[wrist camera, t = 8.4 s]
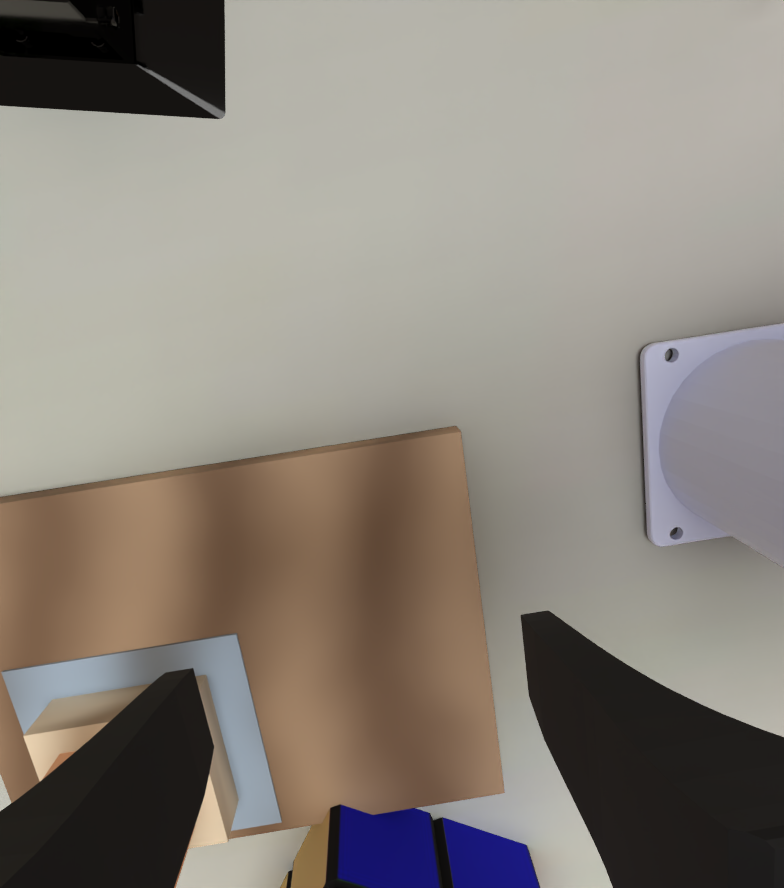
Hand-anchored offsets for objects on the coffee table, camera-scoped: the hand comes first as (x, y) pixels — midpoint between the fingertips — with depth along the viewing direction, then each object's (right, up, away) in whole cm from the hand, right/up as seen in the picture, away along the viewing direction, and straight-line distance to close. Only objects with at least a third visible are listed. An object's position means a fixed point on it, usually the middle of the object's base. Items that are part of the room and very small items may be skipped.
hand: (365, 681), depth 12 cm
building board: (-6, -3, +11) cm, 13 cm away
